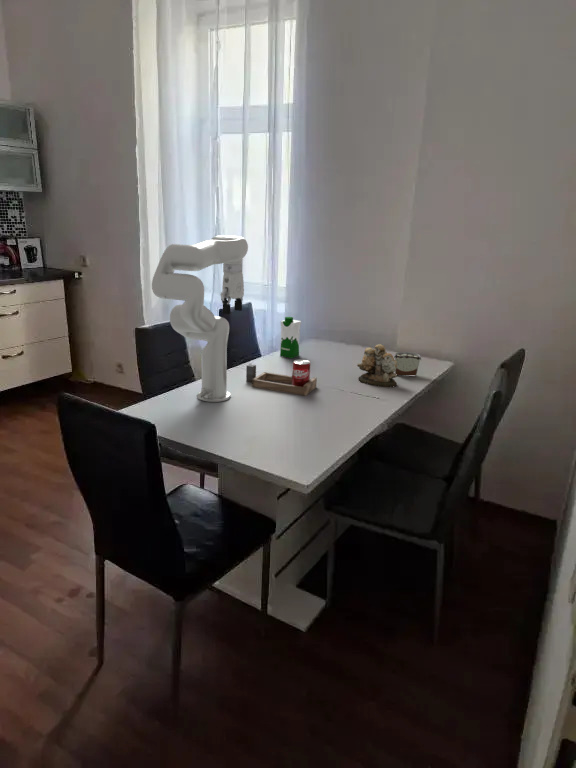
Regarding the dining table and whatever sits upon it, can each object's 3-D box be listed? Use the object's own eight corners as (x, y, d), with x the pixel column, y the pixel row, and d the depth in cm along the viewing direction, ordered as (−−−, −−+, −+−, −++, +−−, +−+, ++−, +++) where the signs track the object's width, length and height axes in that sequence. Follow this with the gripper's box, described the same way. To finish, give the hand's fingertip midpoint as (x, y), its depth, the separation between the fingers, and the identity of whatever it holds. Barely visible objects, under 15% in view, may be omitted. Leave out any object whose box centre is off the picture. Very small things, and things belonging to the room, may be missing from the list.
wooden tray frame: (305, 395, 209) (306, 378, 207) (241, 384, 219) (241, 368, 217) (316, 387, 220) (317, 370, 218) (254, 376, 230) (254, 361, 228)
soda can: (306, 393, 212) (308, 365, 208) (289, 391, 214) (290, 363, 210) (311, 388, 219) (312, 360, 215) (294, 386, 221) (295, 358, 217)
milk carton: (277, 356, 266) (278, 317, 259) (287, 352, 273) (288, 314, 267) (292, 359, 261) (294, 319, 255) (301, 355, 269) (303, 316, 262)
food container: (417, 373, 246) (420, 352, 243) (419, 377, 240) (421, 355, 237) (390, 371, 247) (392, 350, 244) (392, 375, 241) (394, 354, 238)
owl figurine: (352, 383, 228) (355, 344, 223) (360, 376, 239) (363, 339, 234) (393, 389, 221) (397, 350, 216) (399, 382, 232) (403, 344, 227)
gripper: (230, 271, 197) (230, 316, 202) (251, 267, 212) (250, 310, 218) (213, 269, 200) (213, 314, 205) (234, 266, 215) (234, 308, 220)
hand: (232, 312), depth 211 cm, fingers open, 9 cm apart
